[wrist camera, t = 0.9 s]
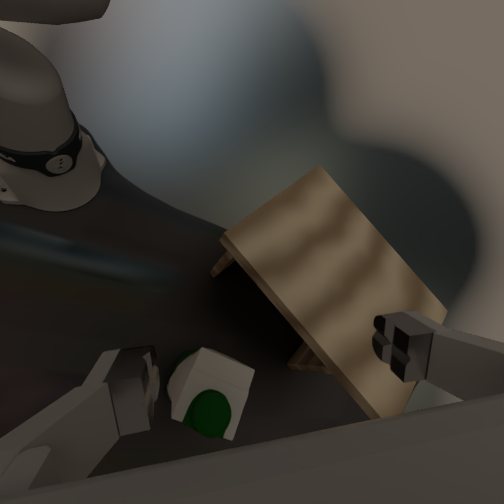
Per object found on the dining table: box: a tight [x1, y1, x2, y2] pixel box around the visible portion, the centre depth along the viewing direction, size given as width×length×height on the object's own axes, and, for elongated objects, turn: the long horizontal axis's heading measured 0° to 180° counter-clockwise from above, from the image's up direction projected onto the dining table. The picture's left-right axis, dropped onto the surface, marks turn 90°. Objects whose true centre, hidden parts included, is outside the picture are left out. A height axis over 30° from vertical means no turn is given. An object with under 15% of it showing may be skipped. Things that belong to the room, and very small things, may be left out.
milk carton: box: [165, 347, 255, 441], centre depth 37 cm, size 9×9×20 cm
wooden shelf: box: [209, 165, 447, 420], centre depth 42 cm, size 26×18×28 cm
